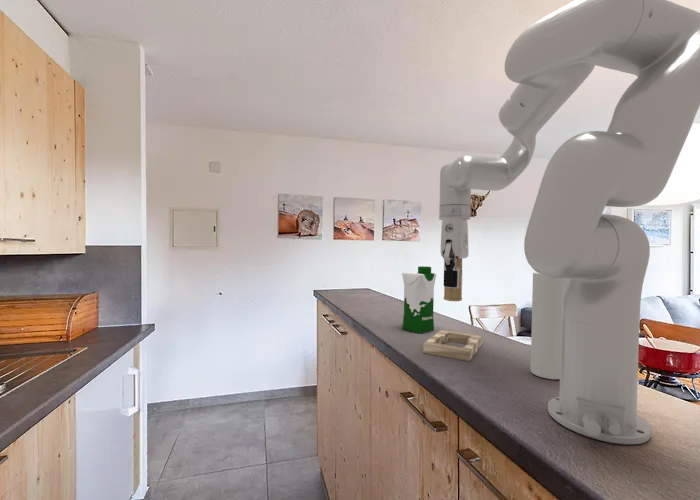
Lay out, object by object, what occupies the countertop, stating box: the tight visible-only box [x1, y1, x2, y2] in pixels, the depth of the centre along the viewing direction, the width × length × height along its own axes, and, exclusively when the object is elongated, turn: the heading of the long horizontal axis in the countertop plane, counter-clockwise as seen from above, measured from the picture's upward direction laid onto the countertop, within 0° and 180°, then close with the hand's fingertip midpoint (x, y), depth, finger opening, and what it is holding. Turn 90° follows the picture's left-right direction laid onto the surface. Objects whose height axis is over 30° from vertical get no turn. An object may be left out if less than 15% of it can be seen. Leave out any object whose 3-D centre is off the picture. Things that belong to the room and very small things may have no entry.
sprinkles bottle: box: [443, 256, 463, 302], centre depth 85 cm, size 5×5×13 cm
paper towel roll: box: [530, 272, 570, 380], centre depth 70 cm, size 7×6×21 cm
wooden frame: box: [422, 329, 483, 362], centre depth 88 cm, size 16×11×2 cm
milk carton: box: [401, 265, 437, 334], centre depth 106 cm, size 9×9×20 cm
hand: (452, 285), depth 86 cm, fingers closed on sprinkles bottle, 4 cm apart
